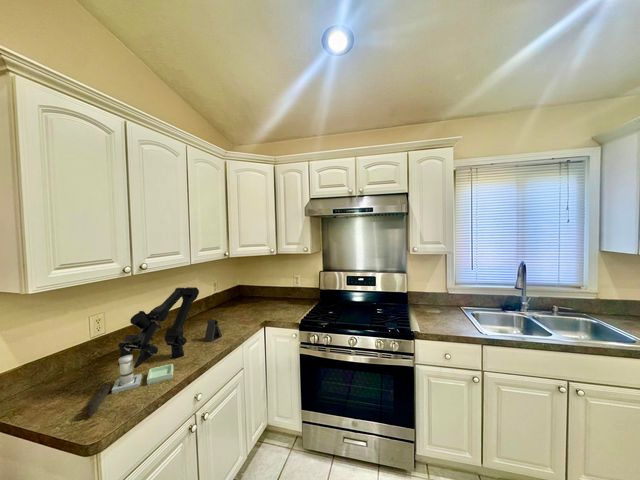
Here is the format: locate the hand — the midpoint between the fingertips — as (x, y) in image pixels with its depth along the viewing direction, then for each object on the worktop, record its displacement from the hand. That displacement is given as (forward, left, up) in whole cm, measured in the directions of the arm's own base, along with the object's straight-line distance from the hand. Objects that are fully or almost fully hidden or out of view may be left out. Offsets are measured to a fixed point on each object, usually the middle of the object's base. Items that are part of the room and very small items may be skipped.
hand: (126, 366), depth 123 cm
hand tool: (+11, -8, -9) cm, 16 cm away
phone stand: (-37, +39, -8) cm, 55 cm away
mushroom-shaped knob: (0, 0, -8) cm, 8 cm away
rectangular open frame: (0, 0, -8) cm, 8 cm away
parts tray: (0, +13, -8) cm, 15 cm away
